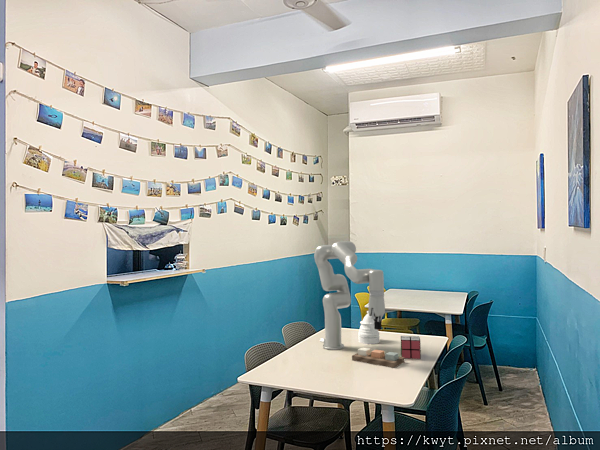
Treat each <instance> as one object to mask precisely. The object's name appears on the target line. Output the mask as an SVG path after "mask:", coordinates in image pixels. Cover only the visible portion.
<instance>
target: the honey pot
mask: <svg viewBox="0 0 600 450" xmlns="http://www.w3.org/2000/svg"><path fill="white" fill-rule="evenodd" d="M359 323H360V324H359V325H360V327H359V329H358V333H357V335H358V336H357V339H358V343H360V344H365V345H373V344H378V343H380V332H379V330H377V329H375V328H374V319H372V316H369V310H366V314H365V316H364V317H363V319H362V320H361V321H360V322H359Z"/></svg>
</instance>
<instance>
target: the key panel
mask: <svg viewBox="0 0 600 450" xmlns="http://www.w3.org/2000/svg"><path fill="white" fill-rule="evenodd" d="M385 354H386V353H384V356H385ZM351 361H354V362H360V363H364V364H369V365H375V366H381V367H386V368H391V369H395V368H397V367H399V366H400V365H402V364H404V363H405V359H404V357H401V356H399V359H398V360H396V361H390V360H385V357H383V358H381V359H379V358H373V357H371V355H368V356H362V355H358V352H357V353H354V354H353V355H351Z"/></svg>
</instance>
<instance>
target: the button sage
mask: <svg viewBox="0 0 600 450" xmlns="http://www.w3.org/2000/svg"><path fill="white" fill-rule="evenodd" d="M384 354H385V360H390V361H396V360H398V359H399V357H400V356H399V353H398V352H392V351H388V352H386V353H384Z"/></svg>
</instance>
